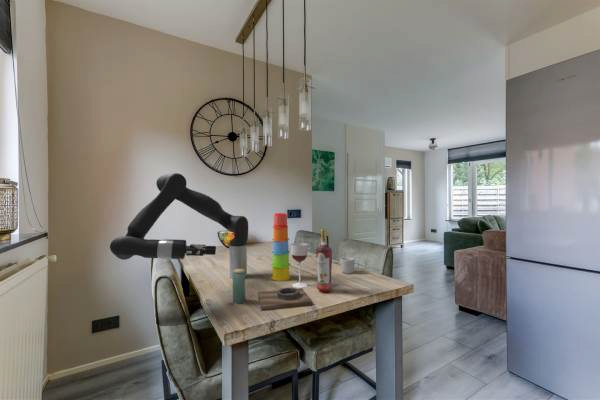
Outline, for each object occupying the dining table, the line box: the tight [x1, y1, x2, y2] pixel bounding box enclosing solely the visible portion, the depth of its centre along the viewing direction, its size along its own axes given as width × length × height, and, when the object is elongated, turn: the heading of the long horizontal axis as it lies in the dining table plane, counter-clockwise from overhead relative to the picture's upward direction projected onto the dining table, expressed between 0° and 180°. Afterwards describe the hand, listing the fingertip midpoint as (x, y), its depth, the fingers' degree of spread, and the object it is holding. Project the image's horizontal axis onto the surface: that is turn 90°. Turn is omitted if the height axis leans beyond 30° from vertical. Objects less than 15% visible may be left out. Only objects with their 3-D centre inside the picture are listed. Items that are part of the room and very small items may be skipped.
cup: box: [339, 256, 360, 275], centre depth 150 cm, size 11×8×8 cm
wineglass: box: [290, 242, 309, 289], centre depth 130 cm, size 8×9×20 cm
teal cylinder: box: [232, 269, 246, 304], centre depth 111 cm, size 5×5×13 cm
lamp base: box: [257, 287, 313, 311], centre depth 111 cm, size 16×20×4 cm
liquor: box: [315, 228, 333, 294], centre depth 122 cm, size 7×7×28 cm
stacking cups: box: [270, 212, 291, 282], centre depth 142 cm, size 10×10×35 cm
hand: (215, 250), depth 108 cm, fingers open, 8 cm apart
